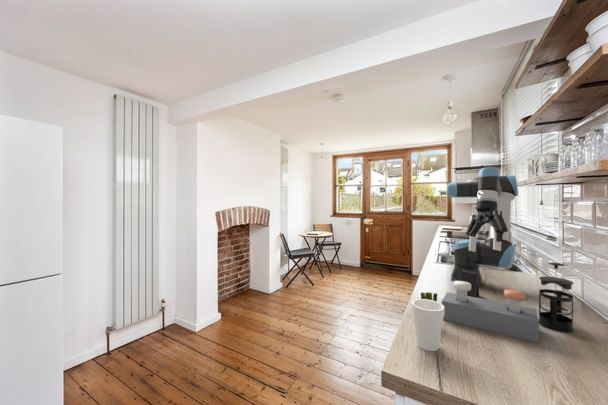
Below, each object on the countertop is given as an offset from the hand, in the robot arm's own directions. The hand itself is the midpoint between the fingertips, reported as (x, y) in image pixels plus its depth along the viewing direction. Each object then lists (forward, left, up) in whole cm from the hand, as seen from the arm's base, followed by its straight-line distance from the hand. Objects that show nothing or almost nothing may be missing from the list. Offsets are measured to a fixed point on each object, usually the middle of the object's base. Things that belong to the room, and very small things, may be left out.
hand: (483, 250), depth 110 cm
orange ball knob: (+14, +10, -20) cm, 26 cm away
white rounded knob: (+14, -6, -20) cm, 25 cm away
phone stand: (-14, -6, -25) cm, 29 cm away
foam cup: (+43, -12, -25) cm, 51 cm away
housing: (+14, +2, -25) cm, 28 cm away
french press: (+1, +22, -25) cm, 33 cm away
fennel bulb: (+28, -15, -25) cm, 40 cm away
